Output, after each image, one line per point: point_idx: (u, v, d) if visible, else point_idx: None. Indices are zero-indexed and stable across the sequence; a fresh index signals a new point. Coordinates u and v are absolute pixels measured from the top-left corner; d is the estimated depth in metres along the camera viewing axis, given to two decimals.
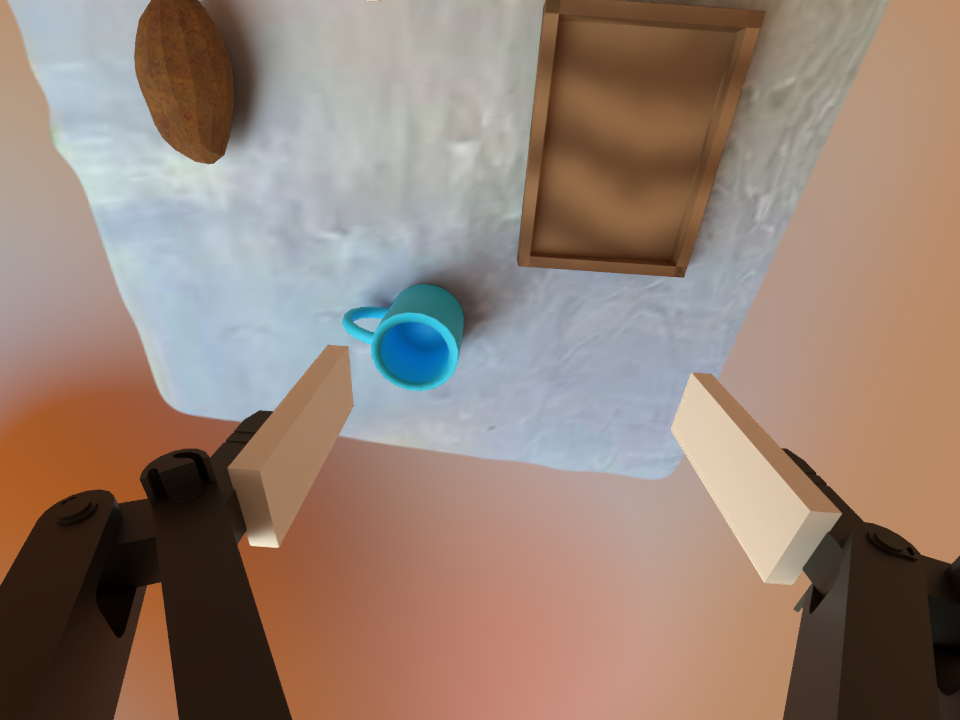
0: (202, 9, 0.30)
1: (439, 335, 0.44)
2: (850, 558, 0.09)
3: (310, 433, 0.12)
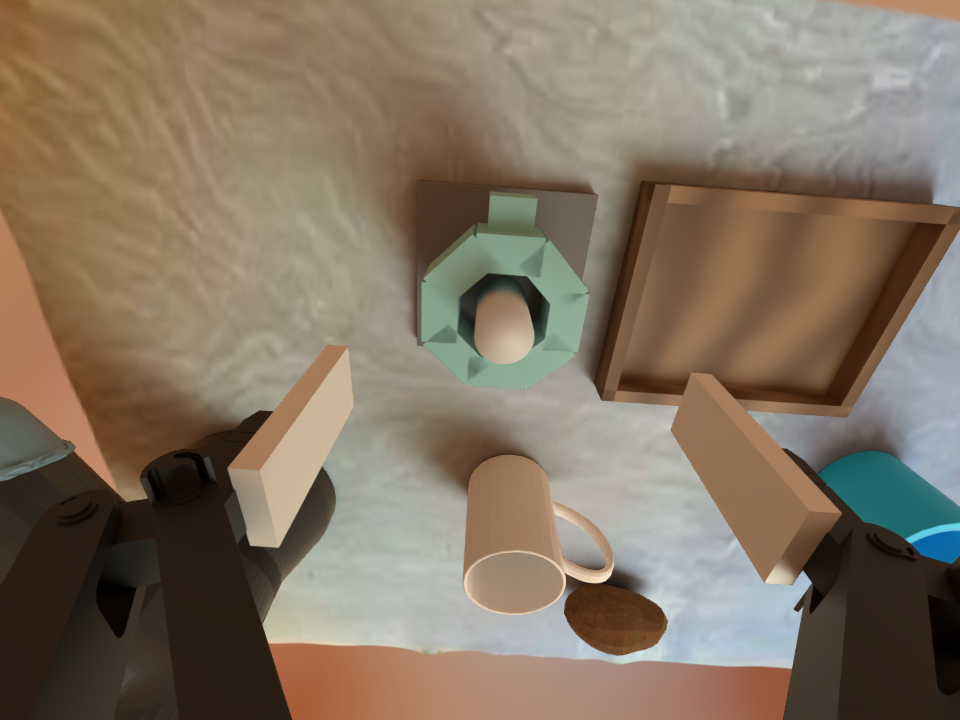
0: (575, 602, 0.44)
1: None
2: (850, 558, 0.09)
3: (310, 433, 0.12)
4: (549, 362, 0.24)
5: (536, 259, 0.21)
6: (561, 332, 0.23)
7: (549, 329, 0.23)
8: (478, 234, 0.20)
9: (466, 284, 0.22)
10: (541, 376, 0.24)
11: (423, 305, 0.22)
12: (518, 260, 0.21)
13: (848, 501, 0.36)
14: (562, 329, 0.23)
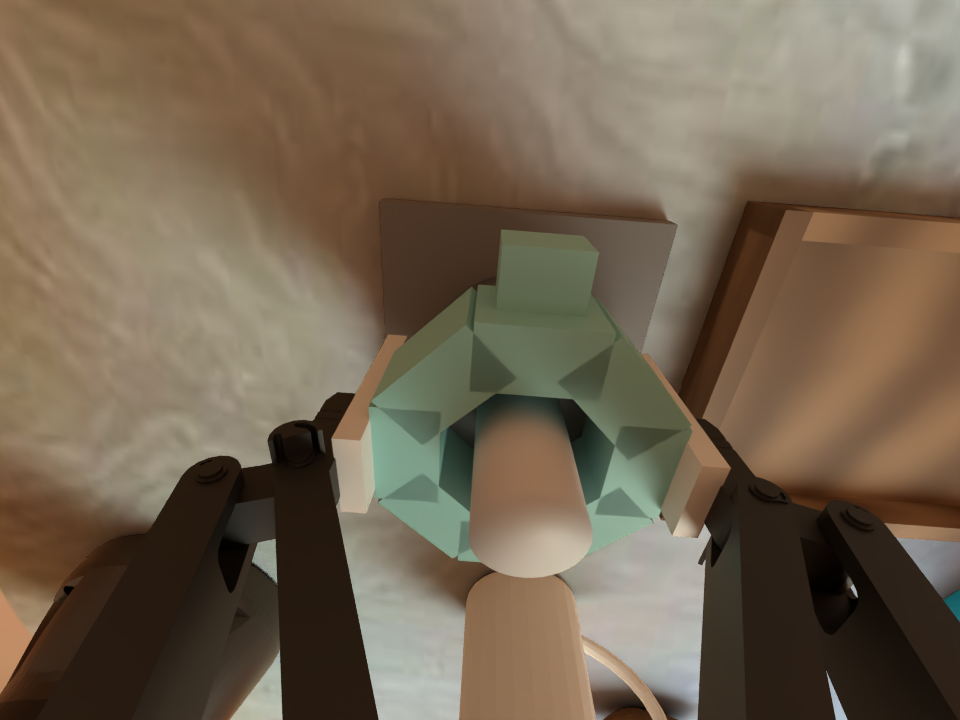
0: None
1: None
2: (738, 512, 0.10)
3: None
4: (605, 531, 0.13)
5: (594, 370, 0.11)
6: (631, 489, 0.12)
7: (609, 484, 0.12)
8: (477, 325, 0.10)
9: (454, 412, 0.11)
10: None
11: (374, 444, 0.12)
12: (557, 372, 0.11)
13: None
14: (632, 484, 0.12)
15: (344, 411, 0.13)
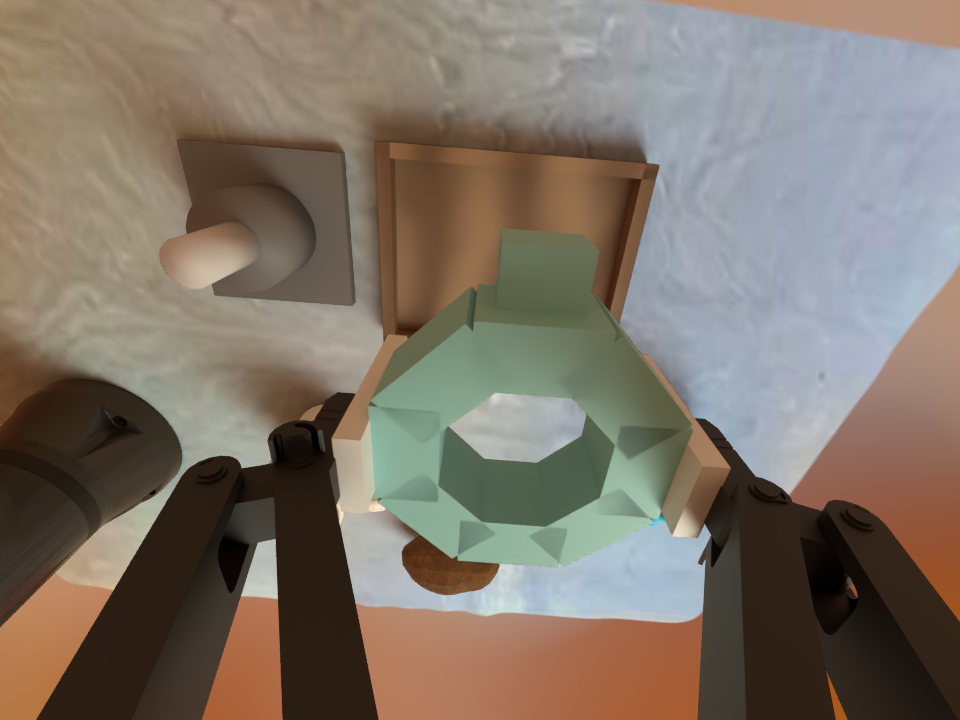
0: (411, 546, 0.47)
1: None
2: (738, 512, 0.10)
3: None
4: (605, 531, 0.13)
5: (594, 370, 0.10)
6: (631, 488, 0.12)
7: (609, 484, 0.12)
8: (477, 324, 0.10)
9: (454, 411, 0.11)
10: (588, 550, 0.14)
11: (374, 443, 0.12)
12: (557, 371, 0.11)
13: None
14: (633, 483, 0.12)
15: (344, 411, 0.13)
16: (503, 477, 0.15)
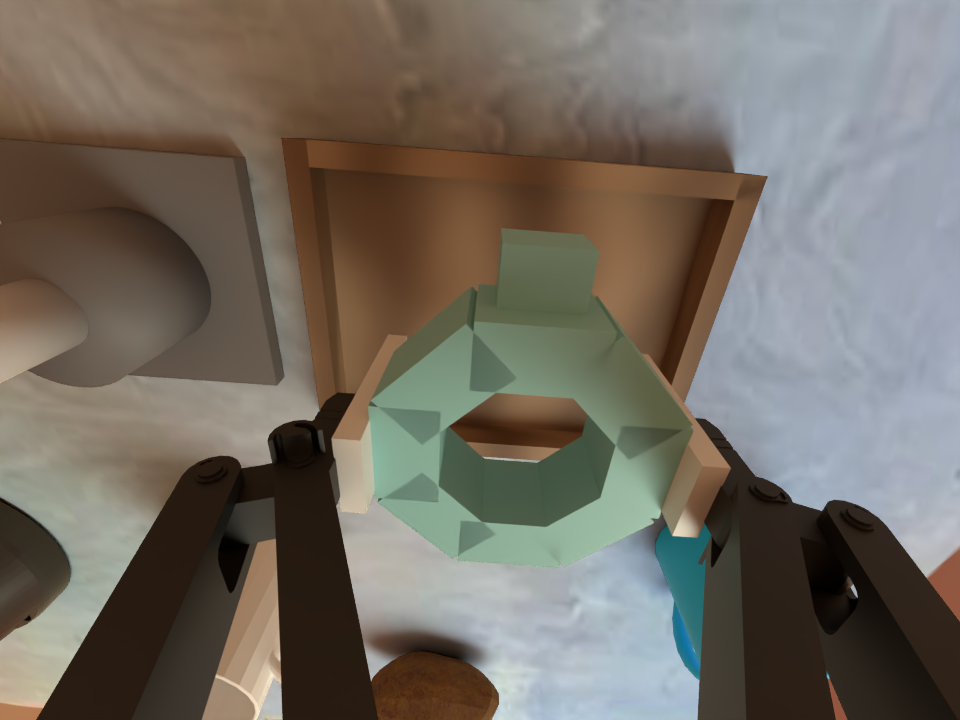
0: (380, 681, 0.35)
1: None
2: (738, 512, 0.10)
3: None
4: (605, 531, 0.13)
5: (595, 370, 0.10)
6: (632, 488, 0.12)
7: (610, 484, 0.12)
8: (478, 324, 0.10)
9: (454, 411, 0.11)
10: (588, 550, 0.14)
11: (374, 443, 0.12)
12: (558, 371, 0.11)
13: (682, 573, 0.27)
14: (633, 483, 0.12)
15: (344, 411, 0.13)
16: (503, 477, 0.15)
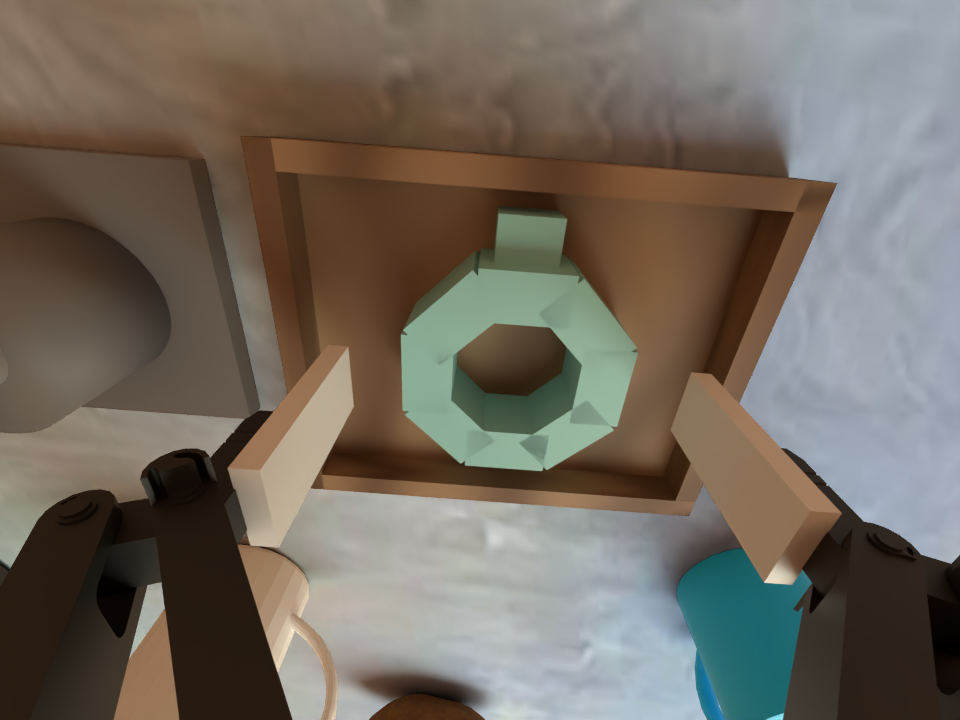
0: None
1: None
2: (850, 558, 0.09)
3: (310, 433, 0.12)
4: (577, 438, 0.17)
5: (564, 305, 0.15)
6: (595, 401, 0.17)
7: (579, 397, 0.16)
8: (481, 270, 0.14)
9: (464, 338, 0.15)
10: (565, 455, 0.18)
11: (404, 365, 0.16)
12: (538, 306, 0.15)
13: (710, 628, 0.24)
14: (596, 397, 0.16)
15: None
16: (500, 404, 0.19)
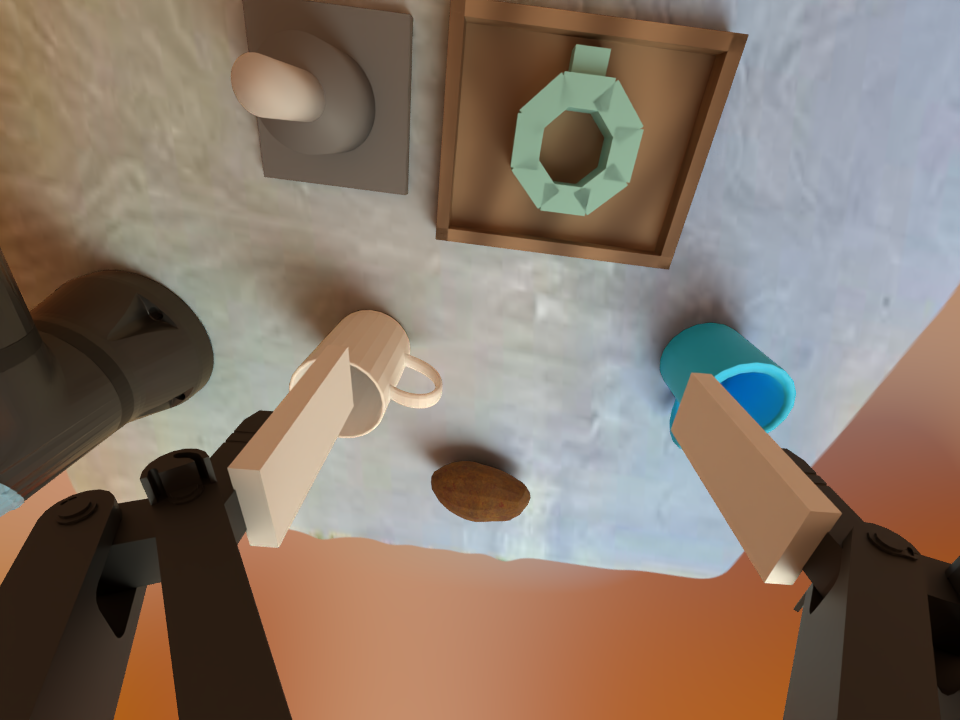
0: (441, 471, 0.46)
1: None
2: (850, 558, 0.09)
3: (310, 433, 0.12)
4: (606, 190, 0.31)
5: (607, 96, 0.28)
6: (618, 163, 0.30)
7: (610, 160, 0.30)
8: (566, 72, 0.28)
9: (551, 116, 0.29)
10: (599, 203, 0.31)
11: (516, 134, 0.30)
12: (593, 96, 0.28)
13: (680, 362, 0.38)
14: (619, 160, 0.30)
15: None
16: (560, 182, 0.33)
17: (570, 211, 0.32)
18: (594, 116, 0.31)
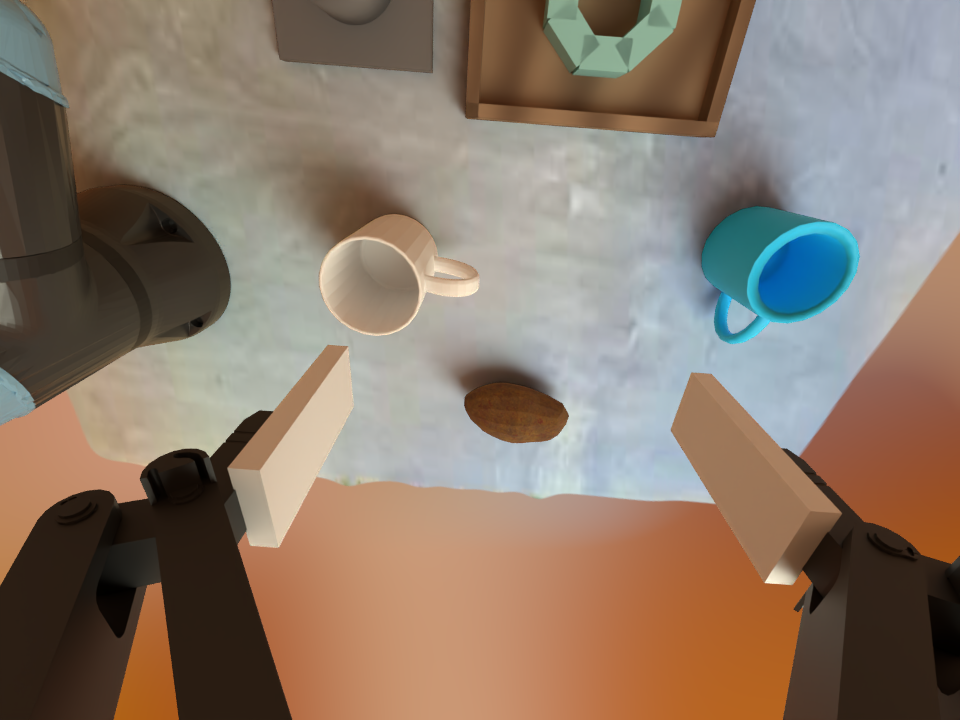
0: (474, 391, 0.44)
1: None
2: (850, 558, 0.09)
3: (310, 433, 0.12)
4: (651, 40, 0.29)
5: None
6: (664, 4, 0.28)
7: (654, 1, 0.28)
8: None
9: None
10: (642, 56, 0.29)
11: None
12: None
13: (727, 245, 0.36)
14: (665, 1, 0.28)
15: None
16: None
17: (611, 68, 0.30)
18: None
